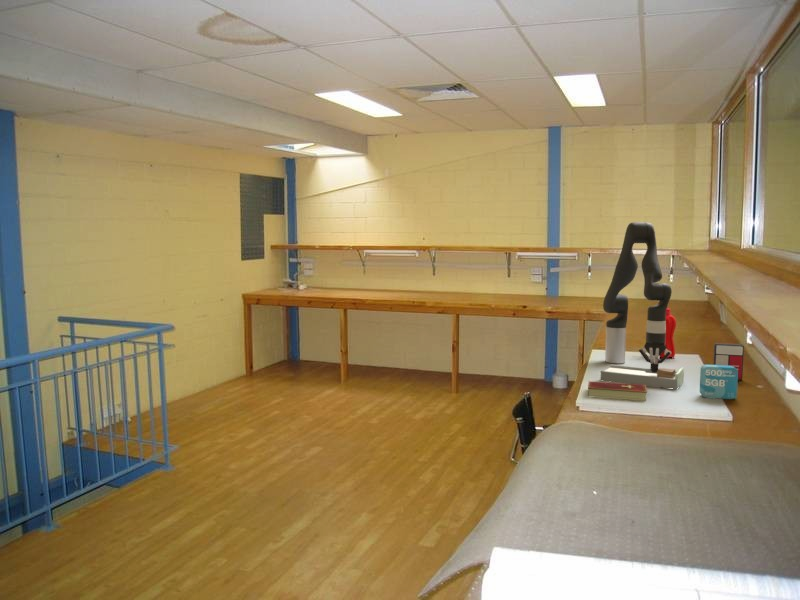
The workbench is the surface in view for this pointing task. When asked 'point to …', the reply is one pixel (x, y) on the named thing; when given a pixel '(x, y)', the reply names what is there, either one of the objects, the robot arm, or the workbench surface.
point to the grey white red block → (729, 356)
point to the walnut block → (666, 373)
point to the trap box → (641, 377)
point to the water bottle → (669, 334)
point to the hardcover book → (617, 390)
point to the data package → (718, 381)
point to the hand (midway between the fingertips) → (654, 372)
